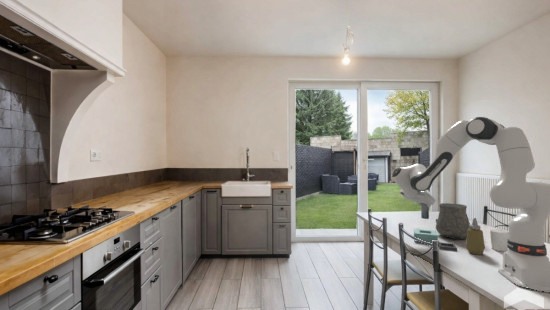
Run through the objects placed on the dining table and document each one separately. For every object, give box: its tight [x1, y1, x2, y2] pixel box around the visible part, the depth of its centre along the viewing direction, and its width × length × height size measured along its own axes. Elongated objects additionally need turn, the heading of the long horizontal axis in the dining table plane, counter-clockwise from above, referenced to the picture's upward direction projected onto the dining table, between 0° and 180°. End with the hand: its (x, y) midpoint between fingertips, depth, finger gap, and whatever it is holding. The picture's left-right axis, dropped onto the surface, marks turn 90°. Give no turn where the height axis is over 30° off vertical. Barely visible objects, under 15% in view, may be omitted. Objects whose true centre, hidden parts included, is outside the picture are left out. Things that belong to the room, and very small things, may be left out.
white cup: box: [489, 228, 509, 253], centre depth 150 cm, size 8×8×10 cm
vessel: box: [435, 202, 471, 240], centre depth 174 cm, size 22×22×20 cm
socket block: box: [413, 228, 439, 244], centre depth 167 cm, size 12×12×5 cm
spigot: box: [420, 203, 430, 220], centre depth 168 cm, size 4×4×14 cm
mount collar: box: [437, 241, 458, 252], centre depth 153 cm, size 8×8×2 cm
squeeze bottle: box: [465, 217, 486, 256], centre depth 145 cm, size 8×8×18 cm
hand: (425, 205), depth 168 cm, fingers closed on spigot, 4 cm apart
